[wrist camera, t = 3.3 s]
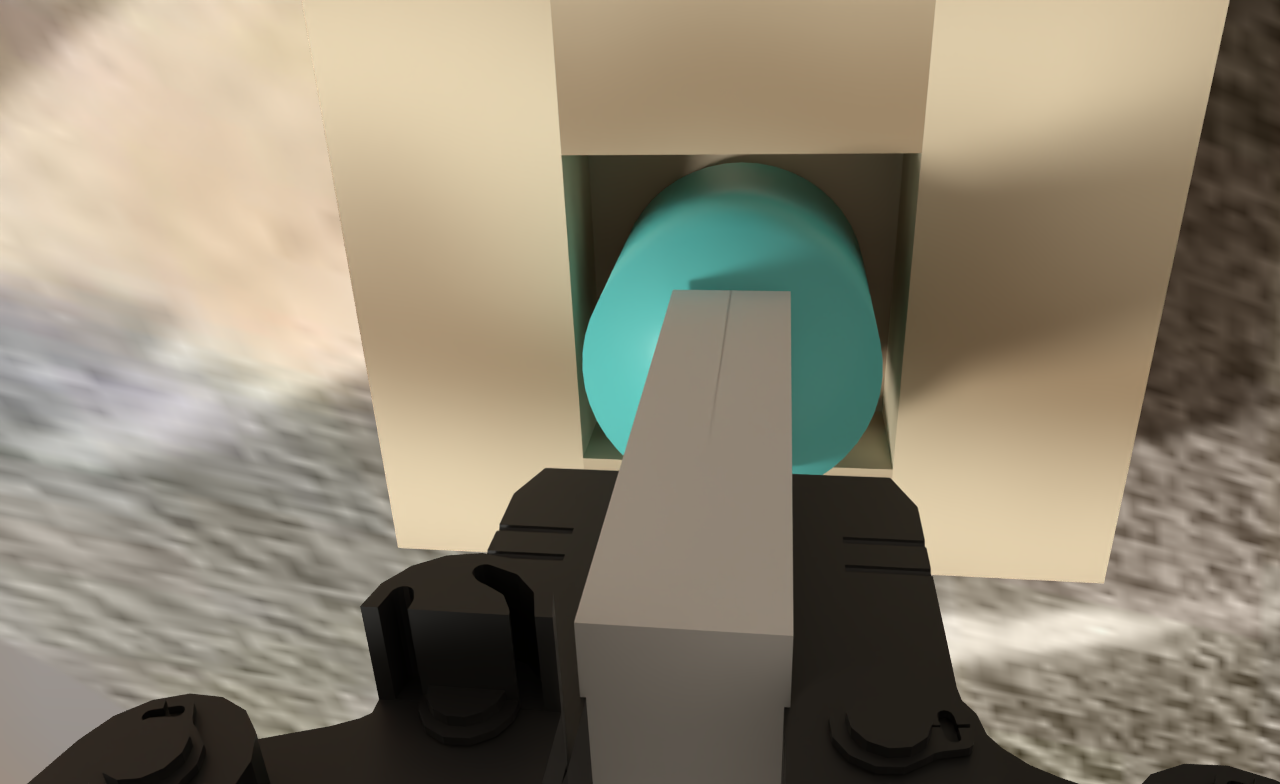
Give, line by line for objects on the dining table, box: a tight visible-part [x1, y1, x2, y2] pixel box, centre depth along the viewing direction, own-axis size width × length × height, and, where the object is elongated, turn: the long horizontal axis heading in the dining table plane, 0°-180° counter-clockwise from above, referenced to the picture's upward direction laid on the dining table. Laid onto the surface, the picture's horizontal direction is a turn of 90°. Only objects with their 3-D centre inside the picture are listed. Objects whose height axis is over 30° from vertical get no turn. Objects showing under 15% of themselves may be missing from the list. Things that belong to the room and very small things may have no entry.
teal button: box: [583, 162, 883, 475], centre depth 15 cm, size 4×4×4 cm
